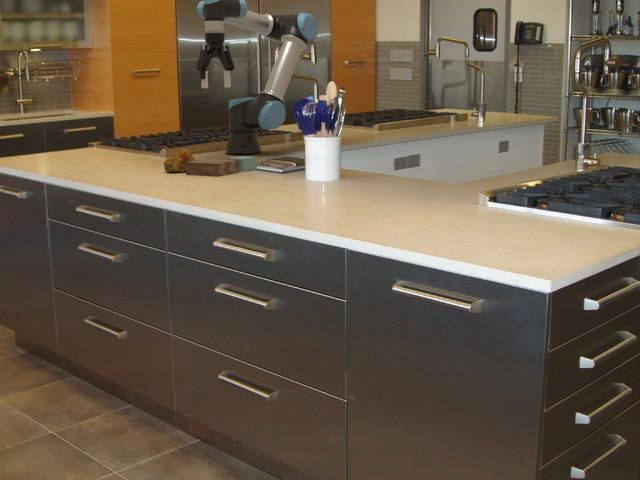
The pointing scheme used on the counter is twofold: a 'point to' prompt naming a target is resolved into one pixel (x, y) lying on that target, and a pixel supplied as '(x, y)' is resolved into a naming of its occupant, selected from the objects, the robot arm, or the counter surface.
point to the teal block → (246, 163)
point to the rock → (178, 161)
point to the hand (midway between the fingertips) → (216, 87)
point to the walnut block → (212, 167)
